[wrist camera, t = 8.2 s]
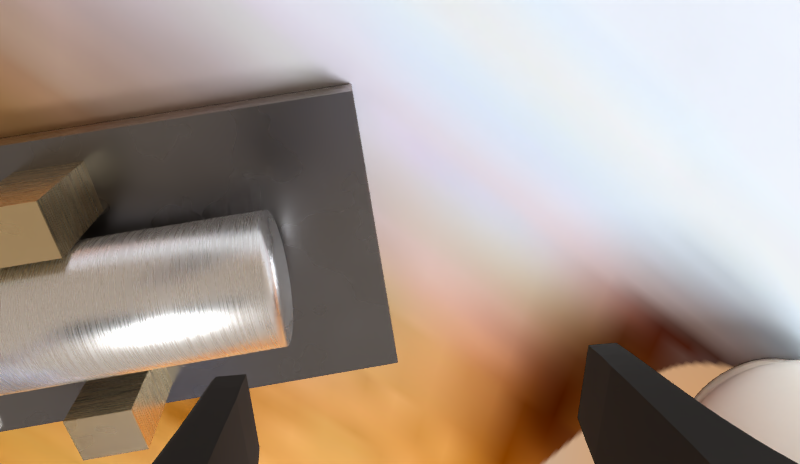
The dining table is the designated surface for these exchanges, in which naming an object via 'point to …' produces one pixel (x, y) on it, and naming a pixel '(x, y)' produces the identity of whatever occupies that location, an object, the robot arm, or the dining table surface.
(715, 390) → the lidded jar
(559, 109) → the dining table surface
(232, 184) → the plate
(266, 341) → the tube
